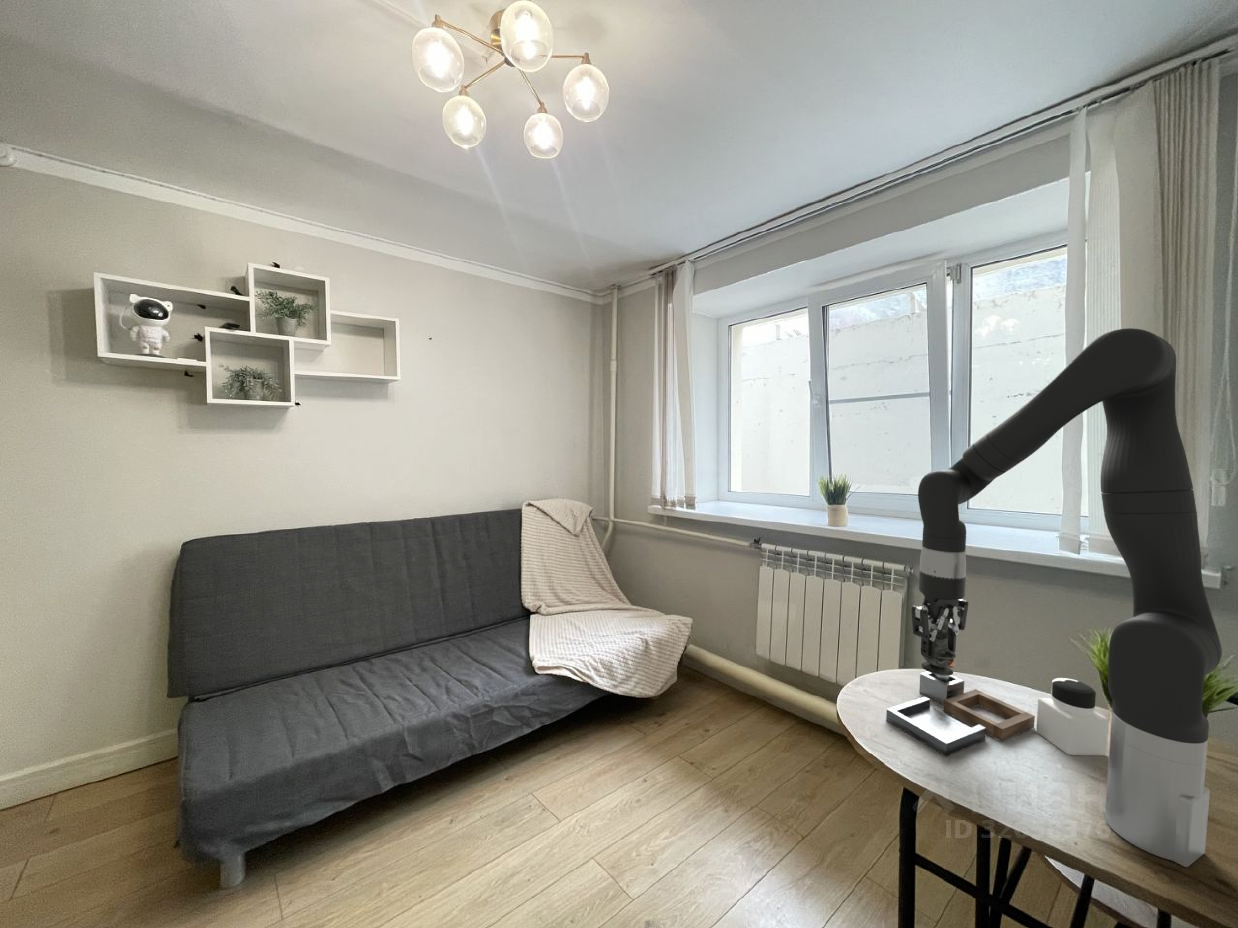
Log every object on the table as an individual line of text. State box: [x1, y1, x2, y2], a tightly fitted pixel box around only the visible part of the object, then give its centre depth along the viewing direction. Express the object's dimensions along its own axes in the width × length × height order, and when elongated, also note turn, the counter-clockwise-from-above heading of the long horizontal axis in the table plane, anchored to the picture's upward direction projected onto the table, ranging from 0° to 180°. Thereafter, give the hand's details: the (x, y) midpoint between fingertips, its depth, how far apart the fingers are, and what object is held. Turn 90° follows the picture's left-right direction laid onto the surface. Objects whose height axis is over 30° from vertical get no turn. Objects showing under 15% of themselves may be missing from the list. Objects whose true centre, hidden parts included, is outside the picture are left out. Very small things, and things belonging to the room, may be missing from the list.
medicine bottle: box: [1035, 677, 1110, 756], centre depth 91 cm, size 7×7×12 cm
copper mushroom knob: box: [934, 660, 956, 683], centre depth 107 cm, size 4×4×7 cm
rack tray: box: [885, 696, 987, 757], centre depth 95 cm, size 12×12×2 cm
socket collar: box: [943, 688, 1036, 742], centre depth 99 cm, size 11×11×2 cm
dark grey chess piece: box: [920, 619, 957, 676], centre depth 94 cm, size 6×6×12 cm
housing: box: [918, 671, 965, 706], centre depth 107 cm, size 6×6×4 cm
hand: (938, 653), depth 94 cm, fingers closed on dark grey chess piece, 6 cm apart
